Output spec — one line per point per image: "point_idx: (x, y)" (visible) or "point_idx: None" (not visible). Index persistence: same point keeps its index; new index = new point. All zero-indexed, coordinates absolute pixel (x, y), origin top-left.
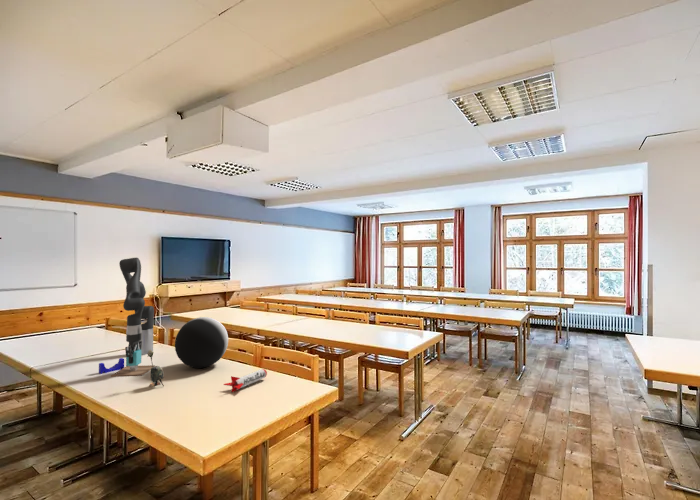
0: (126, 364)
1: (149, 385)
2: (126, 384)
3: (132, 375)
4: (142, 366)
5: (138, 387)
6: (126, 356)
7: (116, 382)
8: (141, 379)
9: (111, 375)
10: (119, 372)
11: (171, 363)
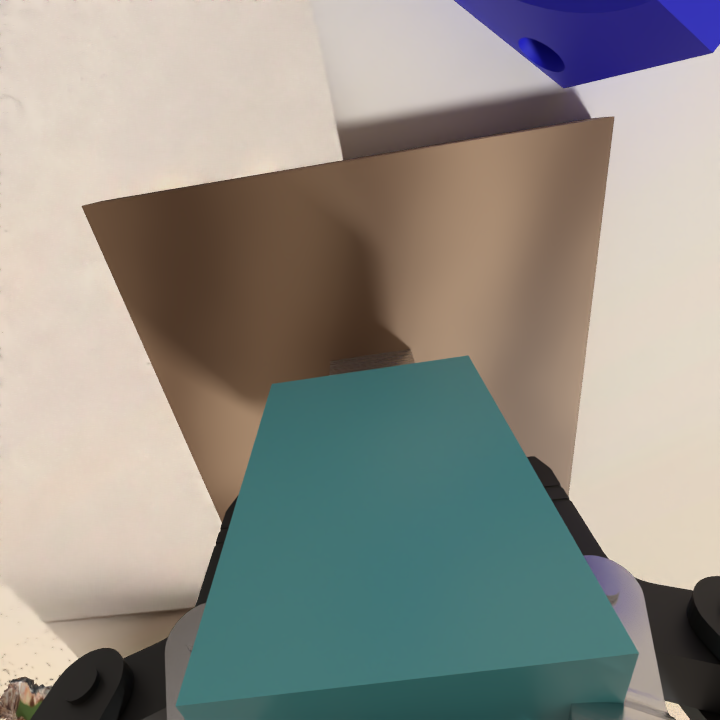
0: (270, 406)
1: (18, 716)
2: (13, 525)
3: (205, 472)
4: (538, 403)
5: (12, 630)
6: (66, 683)
7: (2, 404)
8: (176, 563)
9: (85, 213)
10: (248, 245)
11: (663, 563)
